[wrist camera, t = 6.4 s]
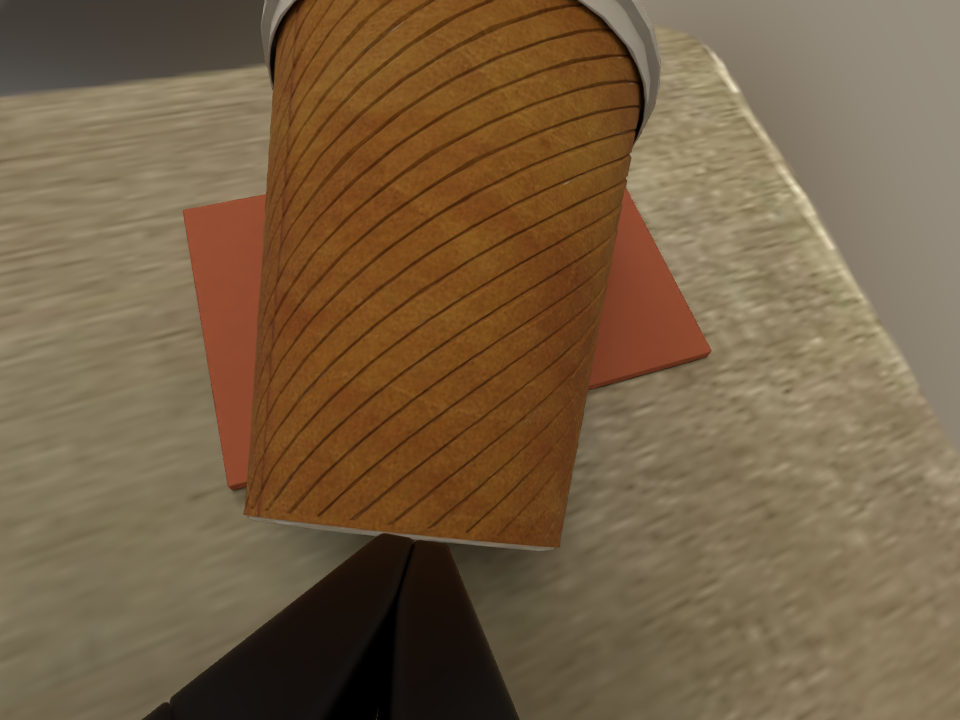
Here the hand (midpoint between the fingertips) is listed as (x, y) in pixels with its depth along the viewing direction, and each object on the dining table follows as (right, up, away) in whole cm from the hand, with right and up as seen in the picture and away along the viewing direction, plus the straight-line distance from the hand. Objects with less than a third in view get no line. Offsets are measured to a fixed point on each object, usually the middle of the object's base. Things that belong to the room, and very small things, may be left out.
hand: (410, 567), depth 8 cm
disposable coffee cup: (-1, -1, +5) cm, 5 cm away
